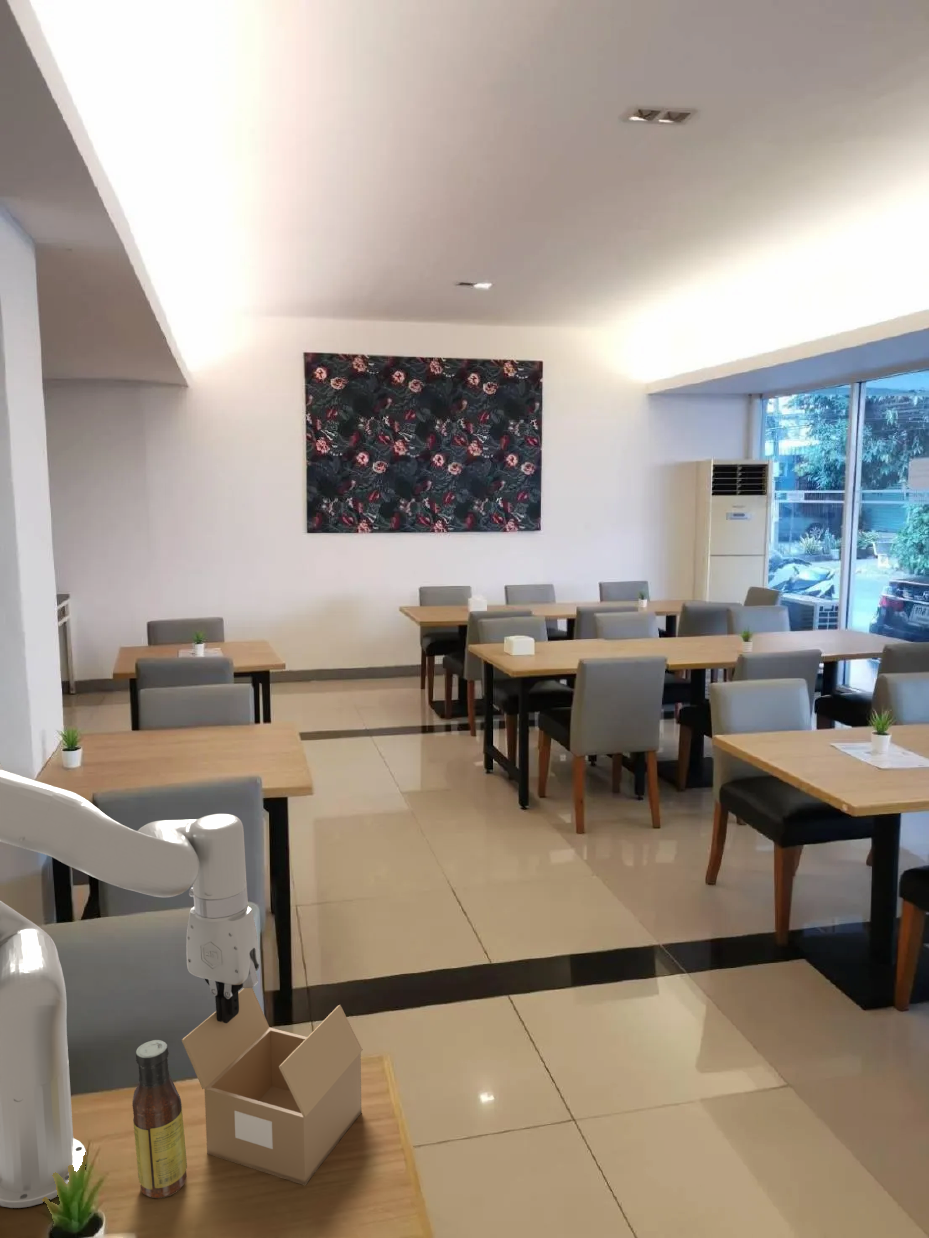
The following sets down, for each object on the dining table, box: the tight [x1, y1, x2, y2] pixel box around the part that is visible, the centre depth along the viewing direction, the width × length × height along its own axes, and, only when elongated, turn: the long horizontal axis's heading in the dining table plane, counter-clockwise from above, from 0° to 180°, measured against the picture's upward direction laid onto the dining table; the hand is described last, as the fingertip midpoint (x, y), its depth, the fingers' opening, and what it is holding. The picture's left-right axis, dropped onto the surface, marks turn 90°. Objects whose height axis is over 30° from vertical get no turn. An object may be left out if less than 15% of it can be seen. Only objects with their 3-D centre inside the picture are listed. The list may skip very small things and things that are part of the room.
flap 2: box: [279, 1004, 363, 1118], centre depth 131 cm, size 7×16×1 cm
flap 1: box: [181, 987, 270, 1090], centre depth 137 cm, size 7×16×1 cm
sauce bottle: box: [131, 1039, 188, 1199], centre depth 124 cm, size 7×6×20 cm
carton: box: [204, 1026, 363, 1186], centre depth 134 cm, size 16×16×10 cm
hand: (228, 1017), depth 137 cm, fingers closed
